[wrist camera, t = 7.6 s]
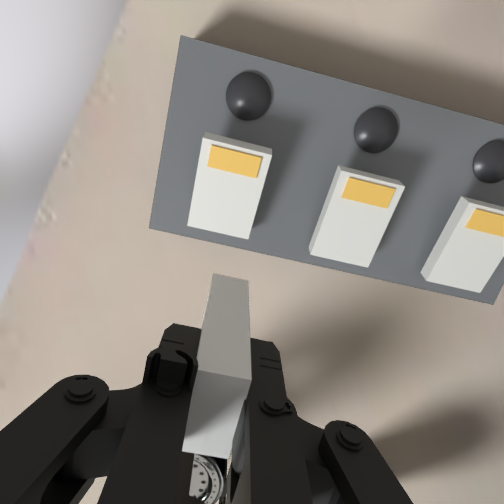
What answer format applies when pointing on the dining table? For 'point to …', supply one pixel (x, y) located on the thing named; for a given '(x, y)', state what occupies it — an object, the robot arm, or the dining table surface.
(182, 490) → the french press
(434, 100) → the dining table surface
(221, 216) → the rocker
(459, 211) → the plate
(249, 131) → the grey rocker switch panel
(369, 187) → the rocker mid
